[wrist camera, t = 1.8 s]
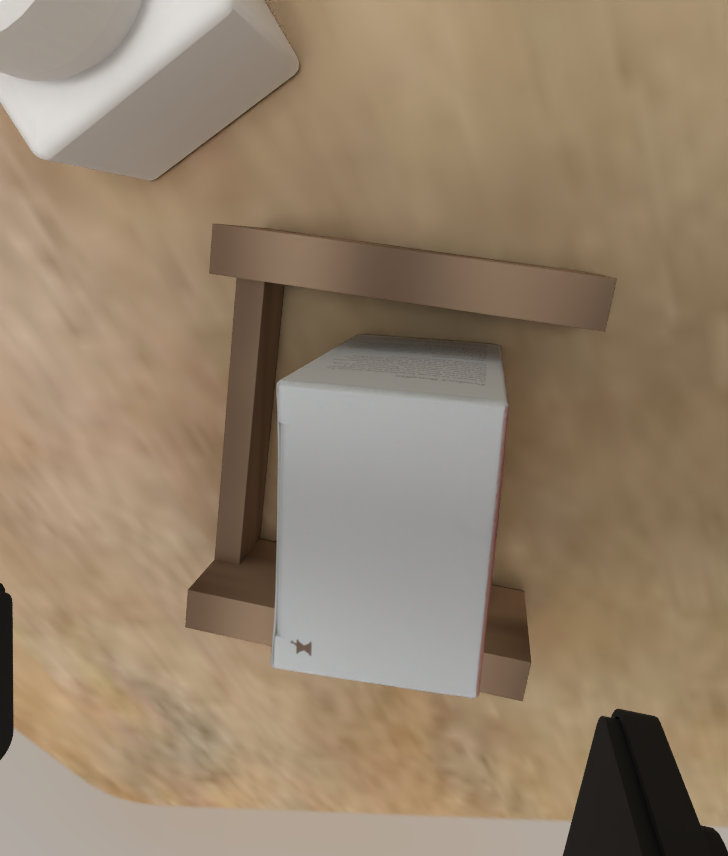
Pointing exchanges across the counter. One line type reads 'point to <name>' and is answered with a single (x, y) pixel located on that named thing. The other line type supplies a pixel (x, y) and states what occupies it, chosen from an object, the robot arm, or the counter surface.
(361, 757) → the counter surface
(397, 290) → the nook
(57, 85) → the medicine bottle
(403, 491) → the small box
